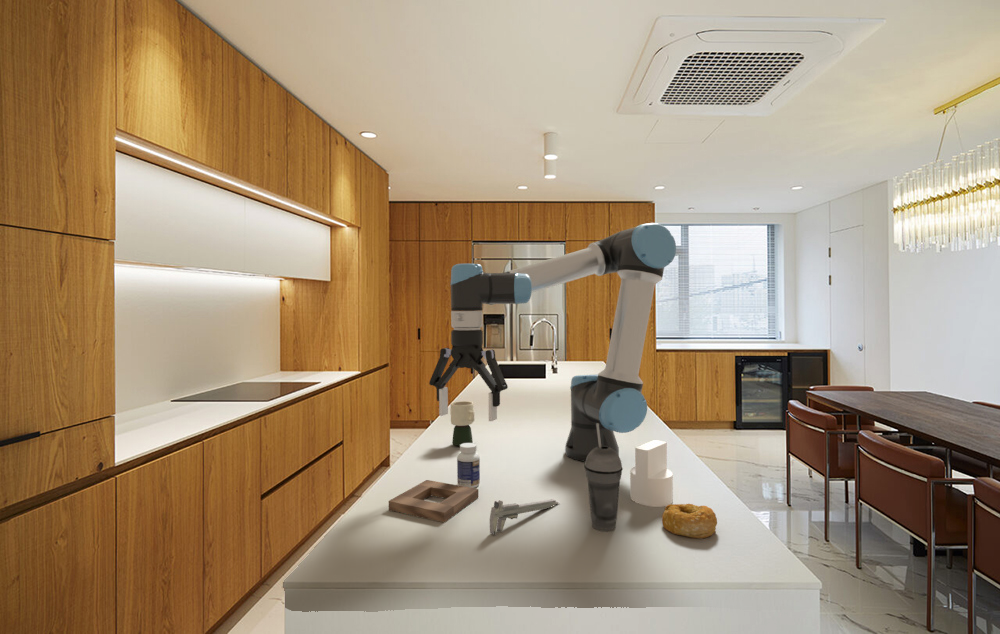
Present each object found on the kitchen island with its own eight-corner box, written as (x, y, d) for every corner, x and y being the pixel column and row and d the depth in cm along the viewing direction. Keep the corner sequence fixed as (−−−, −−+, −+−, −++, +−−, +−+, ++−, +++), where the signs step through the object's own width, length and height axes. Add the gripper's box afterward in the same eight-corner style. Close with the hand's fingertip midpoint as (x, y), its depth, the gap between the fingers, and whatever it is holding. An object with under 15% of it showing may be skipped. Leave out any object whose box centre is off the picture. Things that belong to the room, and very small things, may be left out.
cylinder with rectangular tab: (643, 488, 117) (643, 437, 117) (680, 498, 110) (680, 444, 110) (622, 498, 111) (622, 445, 110) (660, 510, 104) (660, 453, 104)
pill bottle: (476, 490, 117) (476, 448, 116) (454, 488, 118) (454, 447, 117) (482, 481, 122) (481, 442, 122) (461, 480, 123) (460, 441, 123)
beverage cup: (615, 538, 92) (615, 430, 92) (578, 528, 96) (578, 425, 95) (627, 523, 98) (627, 422, 98) (592, 515, 102) (592, 418, 102)
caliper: (493, 537, 93) (493, 504, 93) (489, 535, 94) (489, 502, 94) (559, 505, 108) (559, 476, 108) (555, 503, 109) (554, 475, 109)
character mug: (482, 446, 153) (482, 403, 152) (465, 450, 148) (464, 407, 147) (460, 439, 161) (459, 399, 160) (442, 443, 156) (442, 402, 155)
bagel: (706, 517, 101) (706, 494, 101) (725, 543, 90) (725, 517, 90) (655, 516, 102) (655, 492, 102) (669, 541, 91) (668, 515, 91)
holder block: (478, 497, 112) (478, 489, 112) (444, 522, 99) (444, 512, 99) (426, 488, 118) (426, 479, 118) (388, 510, 105) (388, 500, 105)
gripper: (414, 328, 121) (415, 415, 122) (507, 330, 110) (507, 426, 110) (432, 327, 128) (433, 409, 128) (521, 329, 117) (521, 419, 117)
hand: (467, 417), depth 119 cm, fingers open, 13 cm apart
